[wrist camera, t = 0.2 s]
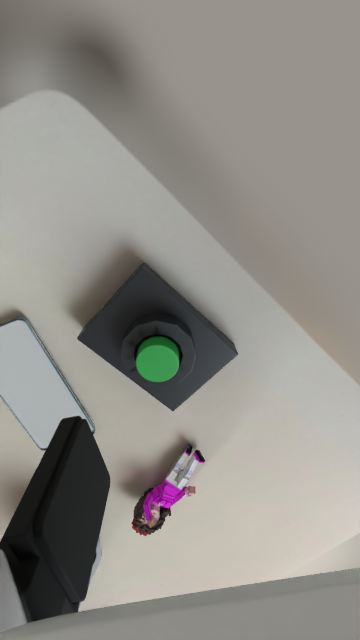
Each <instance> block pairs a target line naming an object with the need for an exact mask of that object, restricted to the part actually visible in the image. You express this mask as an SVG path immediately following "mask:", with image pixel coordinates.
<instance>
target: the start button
mask: <svg viewBox="0 0 360 640" xmlns="http://www.w3.org/2000/svg"><path fill="white" fill-rule="evenodd" d="M136 367H137V370H138V372H139V373H140V375H141V376H142V377H144V378H145V379H147V380H149V381H152V382H163V381H166V380H169V379H170V378H172V377H173V376H174V375H175V374H176V372H177V370H178V368H179V351H178V348H177V346H176V345H175V343H174V342H173V341H172V340H170V339H168V338H166V337H163V336H153V337H150V338H148V339H146V340H145V341H143V342H142V343H141V345H140V347H139V349H138V353H137V358H136Z"/></svg>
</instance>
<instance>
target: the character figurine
mask: <svg viewBox="0 0 360 640" xmlns="http://www.w3.org/2000/svg"><path fill="white" fill-rule="evenodd" d="M191 451H192V446H191V445H189V444H188V446H187V447H186V448H185V450H184V451H183V452H182V453H181V455H180V456H179V458H178V459H177V460H176V462H175V464H174V465H173V467H172V468H171V470H170V471H169V473H168V474H167V475H166V477H165V480H164V481H163V483H162V484H161V485H157V486H156V487H155V488H152V489H151V488H149V490H148V491H145V493H144V496H143V497H141V498H140V499H139V502H138V503H137V504H136V506H135V509H134V519H133V522H132V524H133V526H132V528H133V529H134V530H136V533H138V532H139V533H140V535H142V534H143V535H145V536H146V535H147V534H149V535H150V534H151V533H154V532H155V530H158V529H159V528H160V529H161V526H162V525H163V523H164V521H165V517H166V516H167V515H168V514H169V516H171V510H170V507H171V506H172V505H173V504H174V503H176V502H177V501H178V500H179V499H181V498H182V496H184V495H185V494H186V495H187V496H189V497H190V496H191V495H193V494H195V487H192V486H189V487H184V485H185V484H186V483H187V481H188V480H189V477H190V475H191V474H192V472H193V470H194V468H195V466H196V465H197V463H198V461H199V462H200V463H204V462H205V460H204V458H203V456H202V454H201V452H200V451H199V450H196V451H195V452H194V453H193V456H192V457H191V459H190V460H189V461H188V463H187V465H186V467H185V468H184V470H181V472H180V473H179V474H178V472H179V469H180V466H181V465H182V463H183V462H184V461H185V459H186V458H187V456H189V455H190V454H191ZM177 474H178V476H177Z"/></svg>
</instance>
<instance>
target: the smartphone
mask: <svg viewBox="0 0 360 640" xmlns="http://www.w3.org/2000/svg"><path fill="white" fill-rule="evenodd" d="M0 397H1V398H2V399H3V401H4V402H5V403H6V405H7V406H8V407H9V409H10V410H11V411H12V413H13V414H14V415H15V417H16V418H17V419H18V421H19V422H20V423H21V425H22V426H23V427H24V429H25V430H26V431H27V433H28V434H29V435H30V437H31V438H32V439H33V441H34V442H35V443H36V445H37V446H38V447H39V448H40V449H41V450H46V449H47V447H48V445H49V443H50V441H51V439H52V437H53V435H54V433H55V431H56V429H57V427H58V425H59V423H60V421H61V420H62V419H63V418H68V417H73V416H80V417H81V418H82V419H86V420H87V421H88V424H89V426H90V429H91V431H92V434H94V433H95V426H94V425H93V423H92V422H91V420H90V419H89V417H88V415H87V414H86V412H85V411H84V409H83V407H82V406H81V404H80V403H79V401H78V400H77V398H76V396H75V395H74V393H73V392H72V390H71V389H70V387H69V385H68V384H67V382H66V381H65V379H64V378H63V376H62V374H61V373H60V371H59V370H58V368H57V366H56V365H55V363H54V362H53V360H52V359H51V357H50V355H49V354H48V352H47V351H46V349H45V348H44V346H43V344H42V343H41V341H40V340H39V338H38V337H37V335H36V333H35V332H34V330H33V328H32V327H31V325H30V324H29V322H28V321H27V320H26V319H25V318H23V317H18V318H15V319H13V320H10V321H8V322H5V323H3V324H0Z"/></svg>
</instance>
